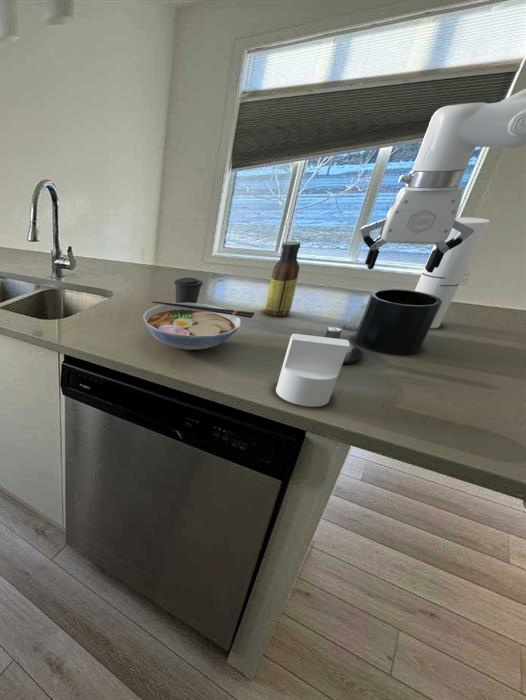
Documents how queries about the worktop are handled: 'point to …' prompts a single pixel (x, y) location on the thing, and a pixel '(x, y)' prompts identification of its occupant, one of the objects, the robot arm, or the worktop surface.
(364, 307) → the fork
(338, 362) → the base with upright slab
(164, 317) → the ramen bowl
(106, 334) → the worktop surface
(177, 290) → the coffee cup
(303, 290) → the worktop surface
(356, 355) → the tin lid
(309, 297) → the worktop surface
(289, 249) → the sauce bottle
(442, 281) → the cylindrical container
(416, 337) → the cup
